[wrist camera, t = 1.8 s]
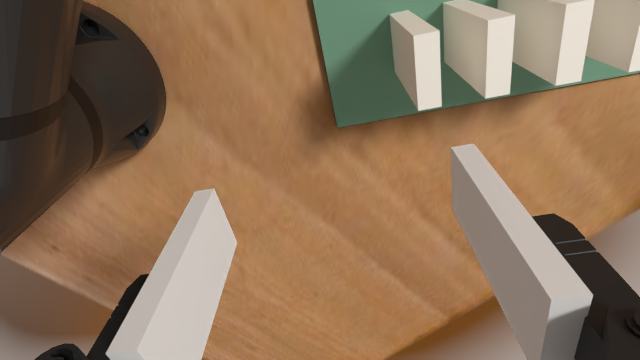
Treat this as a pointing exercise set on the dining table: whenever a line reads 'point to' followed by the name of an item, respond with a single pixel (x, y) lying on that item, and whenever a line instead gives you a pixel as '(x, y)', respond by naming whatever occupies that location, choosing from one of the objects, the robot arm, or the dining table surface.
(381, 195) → the dining table surface
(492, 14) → the domino
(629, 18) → the domino
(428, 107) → the domino
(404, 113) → the felt mat
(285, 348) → the dining table surface
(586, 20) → the domino
